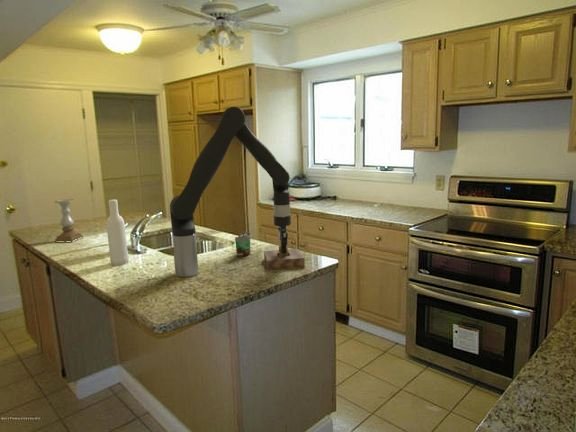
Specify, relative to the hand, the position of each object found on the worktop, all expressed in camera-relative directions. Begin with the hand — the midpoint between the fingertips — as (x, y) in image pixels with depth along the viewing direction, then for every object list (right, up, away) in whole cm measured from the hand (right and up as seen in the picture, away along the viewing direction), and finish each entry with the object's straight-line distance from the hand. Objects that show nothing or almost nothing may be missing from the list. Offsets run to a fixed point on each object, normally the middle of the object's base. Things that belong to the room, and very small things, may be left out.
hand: (283, 251), depth 185 cm
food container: (-18, -3, +17) cm, 25 cm away
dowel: (0, -3, +1) cm, 3 cm away
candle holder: (-127, +2, +59) cm, 140 cm away
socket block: (0, -5, +1) cm, 5 cm away
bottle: (-77, -6, +9) cm, 78 cm away
